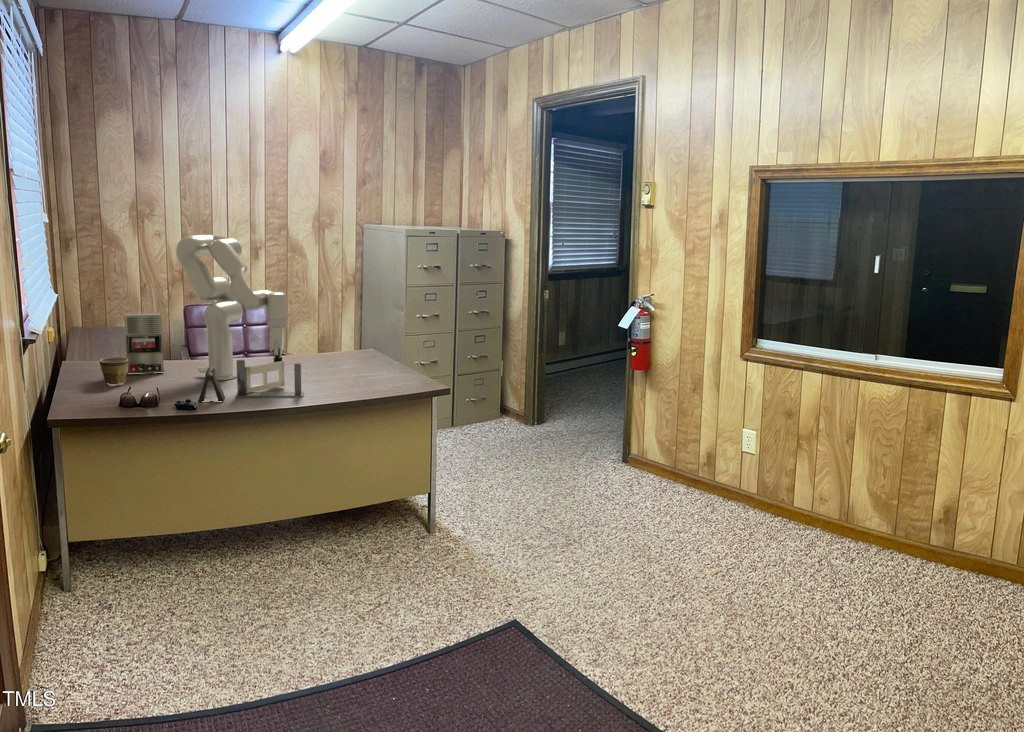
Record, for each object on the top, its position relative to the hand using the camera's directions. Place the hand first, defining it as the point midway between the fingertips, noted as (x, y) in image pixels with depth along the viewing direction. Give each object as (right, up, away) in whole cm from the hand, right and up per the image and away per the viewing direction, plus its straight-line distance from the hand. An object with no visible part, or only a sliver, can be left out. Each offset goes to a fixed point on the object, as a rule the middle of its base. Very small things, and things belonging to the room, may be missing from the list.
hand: (278, 366), depth 315 cm
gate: (-2, -9, -11) cm, 14 cm away
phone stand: (-17, -13, -27) cm, 34 cm away
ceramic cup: (-62, -7, -11) cm, 63 cm away
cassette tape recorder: (-58, -3, +8) cm, 59 cm away
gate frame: (+2, -11, -17) cm, 20 cm away
